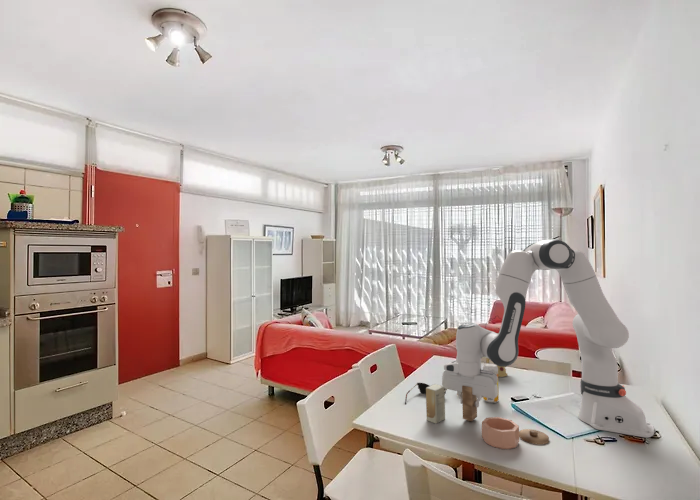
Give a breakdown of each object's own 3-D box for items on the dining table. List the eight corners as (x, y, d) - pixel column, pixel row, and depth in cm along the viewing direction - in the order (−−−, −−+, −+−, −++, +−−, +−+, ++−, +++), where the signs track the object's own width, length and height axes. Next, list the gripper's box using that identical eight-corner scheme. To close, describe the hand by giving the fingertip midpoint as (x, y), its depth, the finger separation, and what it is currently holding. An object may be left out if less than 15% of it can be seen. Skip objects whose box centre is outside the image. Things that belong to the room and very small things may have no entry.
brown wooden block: (477, 416, 140) (476, 384, 140) (472, 421, 136) (471, 387, 137) (467, 414, 142) (467, 382, 143) (462, 418, 139) (462, 386, 139)
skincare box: (435, 415, 144) (435, 383, 144) (445, 419, 141) (445, 386, 141) (425, 420, 140) (425, 387, 140) (435, 424, 137) (435, 390, 137)
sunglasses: (447, 398, 162) (447, 387, 162) (433, 414, 148) (433, 401, 148) (417, 392, 169) (417, 381, 169) (402, 406, 156) (401, 395, 156)
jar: (522, 439, 125) (521, 422, 125) (512, 452, 116) (512, 434, 116) (489, 430, 131) (489, 414, 131) (478, 442, 123) (478, 425, 123)
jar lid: (551, 437, 126) (551, 430, 127) (545, 448, 119) (545, 440, 119) (522, 430, 132) (522, 423, 132) (515, 440, 125) (515, 432, 125)
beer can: (497, 398, 160) (497, 363, 161) (499, 404, 154) (498, 367, 155) (482, 397, 162) (482, 362, 162) (483, 402, 156) (483, 366, 156)
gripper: (500, 370, 136) (501, 408, 135) (446, 361, 149) (447, 396, 148) (494, 374, 131) (495, 414, 131) (439, 365, 144) (440, 401, 143)
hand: (469, 405), depth 140 cm, fingers closed on brown wooden block, 3 cm apart
